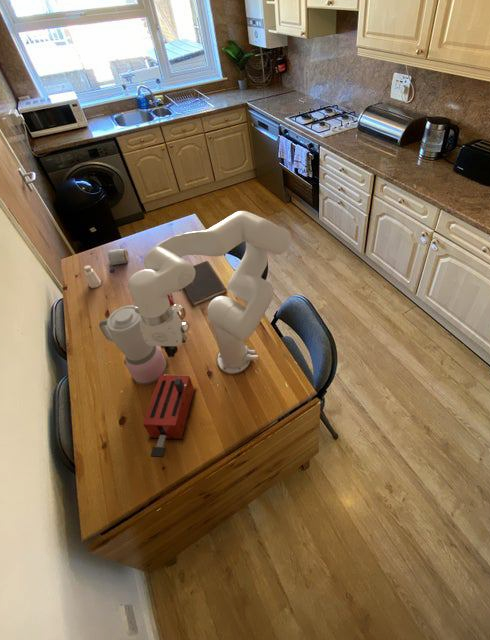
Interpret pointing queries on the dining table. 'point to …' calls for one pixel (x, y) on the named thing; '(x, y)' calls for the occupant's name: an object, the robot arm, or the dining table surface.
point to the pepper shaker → (92, 277)
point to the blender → (134, 345)
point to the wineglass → (180, 313)
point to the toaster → (169, 408)
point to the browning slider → (179, 385)
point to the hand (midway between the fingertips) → (172, 352)
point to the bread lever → (159, 448)
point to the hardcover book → (204, 284)
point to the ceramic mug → (118, 256)
